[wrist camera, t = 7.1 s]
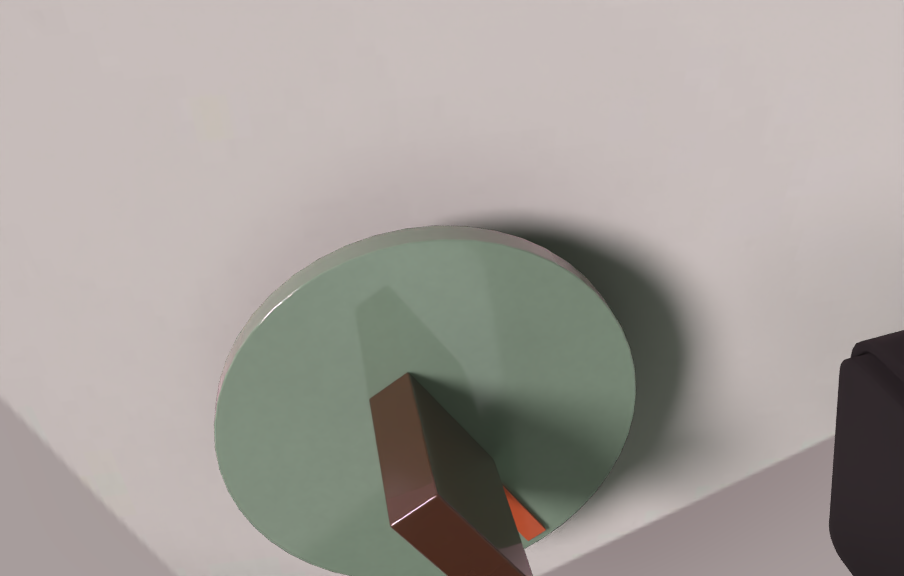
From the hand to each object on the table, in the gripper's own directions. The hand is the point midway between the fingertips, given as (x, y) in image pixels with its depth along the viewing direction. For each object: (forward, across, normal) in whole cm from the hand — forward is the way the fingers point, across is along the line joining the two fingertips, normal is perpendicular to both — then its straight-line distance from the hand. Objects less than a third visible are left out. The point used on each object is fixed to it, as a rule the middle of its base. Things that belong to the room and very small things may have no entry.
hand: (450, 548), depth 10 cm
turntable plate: (+16, 0, +11) cm, 20 cm away
